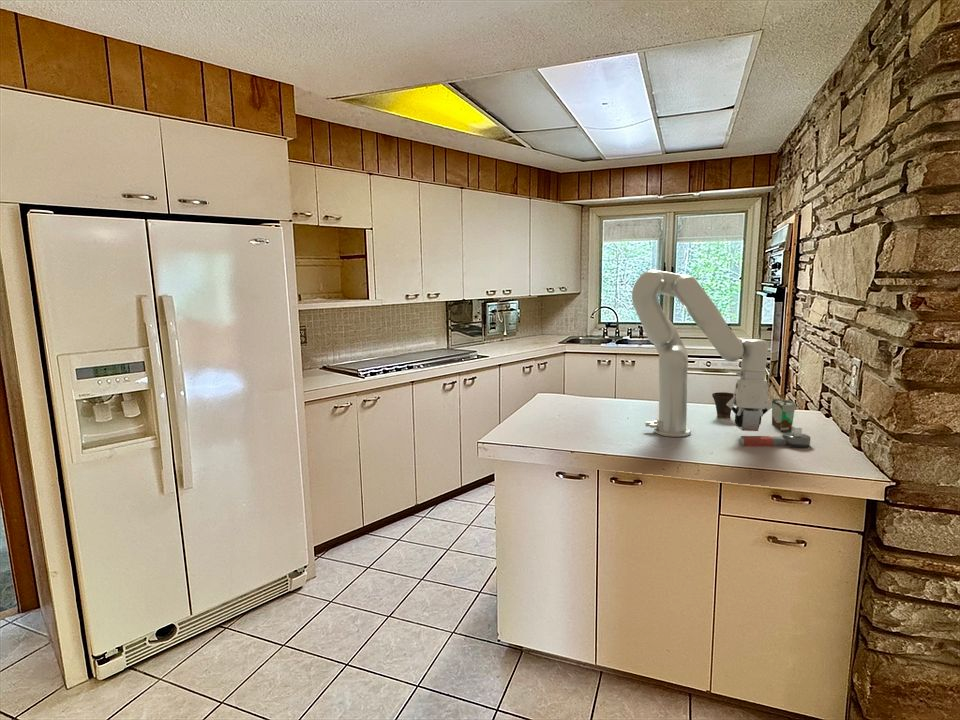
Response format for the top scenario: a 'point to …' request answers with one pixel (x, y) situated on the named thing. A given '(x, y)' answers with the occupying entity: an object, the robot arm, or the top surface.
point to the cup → (722, 404)
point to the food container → (783, 414)
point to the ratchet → (779, 440)
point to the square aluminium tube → (750, 420)
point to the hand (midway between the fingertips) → (747, 425)
